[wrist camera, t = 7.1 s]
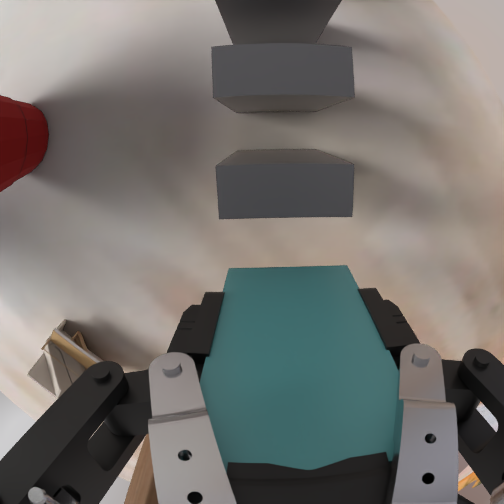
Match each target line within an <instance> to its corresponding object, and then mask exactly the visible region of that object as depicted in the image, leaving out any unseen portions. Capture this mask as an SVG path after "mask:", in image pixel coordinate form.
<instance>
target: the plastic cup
mask: <svg viewBox="0 0 504 504" xmlns="http://www.w3.org/2000/svg"><path fill="white" fill-rule="evenodd" d="M48 136H49V133H48V126H47V121H46V119H45V117H44V115H43V113H42V111H40V110H39V109H37V108H36V107H35V106H32V105H31V104H29V103H24V102H20V101H15V100H12V99H11V98H8V97H5V96H1V95H0V192H1V191H3V190H4V189H6V188H7V187H9V186H11V185H12V184H13V182H15V181H16V180H18V179H20V178H22V177H23V176H25V175H27V174H28V173H30V172H31V171H32V170H33V169H35V168H36V167H37V166H38V164H39V163H40V162H41V161H42V160H43V157H44V154H45V152H46V150H47V145H48Z"/></svg>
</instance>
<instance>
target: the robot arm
mask: <svg viewBox="0 0 504 504" xmlns="http://www.w3.org/2000/svg"><path fill="white" fill-rule="evenodd" d="M357 290H358V292H359V294H360V296H361V298H362V300H363V302H364V304H365V306H366V308H367V310H368V312H369V314H370V316H371V318H372V320H373V322H374V325H375V327H376V329H377V331H378V333H379V335H380V338H381V340H382V342H383V344H384V346H385V349H386V350H389V351H390V353H391V355H392V358H393V360H394V362H395V364H396V367H397V369H398V387H397V402H396V414H395V424H394V433H393V441H394V451H393V459H392V462H389V461H388V457H387V453H386V452H381V453H376V454H370V455H364V456H357V457H350V458H347V459H344V460H341V461H338V462H335V463H332V464H329V465H326V466H323V467H320V468H317V469H313V470H304V469H298V468H292V467H286V466H280V465H275V464H270V463H237V462H228V466H227V474H226V471H225V468H224V465H223V462H222V459H221V455H220V452H219V449H218V446H217V442H216V439H215V436H214V432H213V429H212V426H211V422H210V419H209V415H208V412H207V409H206V406H205V402H204V399H203V395H202V391H201V387H200V379H201V375H202V371H203V367H204V363H205V359H206V357H209V356H210V352H211V348H212V344H213V339H214V335H215V331H216V327H217V323H218V319H219V315H220V310H221V306H222V302H223V298H224V294H225V292H205V294H204V297H203V300H202V303H201V305H191V306H190V307H189V308H188V309H187V310H186V311H184V312H183V315H182V317H181V319H180V323H179V324H178V327H177V330H176V331H175V334H174V336H173V339H172V341H171V343H170V346H169V348H168V351H167V353H166V354H163V355H161V356H159V357H157V358H155V359H154V360H153V361H152V362H151V364H150V366H149V369H148V370H144V371H137V372H130V373H124V371H123V369H122V367H121V366H120V365H119V364H117V363H115V362H112V361H103V362H98V363H96V364H93V365H92V366H90V367H89V368H88V369H86V370H85V371H84V373H83V374H82V375H81V376H80V377H79V378H78V379H77V380H76V381H75V382H74V383H73V384H72V385H71V386H70V387H69V388H68V389H67V390H66V391H65V392H64V393H63V394H62V395H61V396H60V397H59V398H58V399H57V400H56V401H55V402H54V403H53V404H52V406H51V407H50V408H49V409H48V410H47V411H46V412H45V413H44V414H43V415H42V416H41V417H40V418H39V419H38V420H37V421H36V422H35V424H34V425H33V426H32V427H31V428H30V429H29V430H28V431H27V432H26V433H25V434H24V435H23V436H22V437H21V439H20V440H19V441H18V442H17V443H16V444H15V445H14V446H13V447H12V449H11V450H10V451H9V452H8V453H7V454H6V455H5V456H4V457H3V458H2V460H1V461H0V504H99V503H100V501H101V500H102V498H103V497H104V496H105V494H106V493H107V491H108V490H109V488H110V487H111V485H112V484H113V483H114V481H115V480H116V478H117V477H118V475H119V474H120V472H121V471H122V469H123V468H124V467H125V465H126V464H127V462H128V461H129V459H130V458H131V456H132V455H133V453H134V452H135V450H136V449H137V447H138V446H139V445H140V443H141V442H142V440H143V439H144V437H145V436H146V434H149V440H150V449H151V457H152V465H153V472H154V479H155V486H156V492H157V498H158V503H159V504H474V503H472V502H471V501H469V500H468V499H466V498H464V497H463V496H461V495H459V494H458V451H459V452H460V453H461V455H462V456H463V457H464V459H465V460H466V462H467V463H468V464H469V466H470V467H471V468H472V470H473V471H474V473H475V474H476V475H477V477H478V478H479V480H480V481H481V482H482V484H483V485H484V487H485V488H486V489H487V491H488V492H489V494H490V495H491V499H490V501H491V502H490V504H504V365H503V364H502V363H501V362H500V361H499V360H498V359H497V358H496V357H495V356H493V355H492V354H491V353H489V352H488V351H486V350H483V349H471V350H468V351H467V352H466V353H465V354H464V356H463V359H462V361H454V360H443V359H441V356H440V354H439V353H438V352H437V351H436V350H435V349H434V348H432V347H430V346H428V345H425V344H420V342H419V340H418V339H417V337H416V335H415V334H414V332H413V330H412V329H411V327H410V325H409V324H408V323H407V321H406V319H405V317H404V316H403V314H402V312H401V311H400V309H399V308H398V306H396V305H395V304H394V303H392V302H391V301H389V300H383V299H382V297H381V296H380V294H379V292H378V291H377V289H376V288H364V289H357ZM480 401H481V402H482V403H483V404H484V405H485V407H486V408H487V409H488V410H489V411H490V412H491V413H492V414H493V416H494V417H495V418H496V419H497V421H498V431H497V432H495V430H494V429H493V428H492V427H491V426H490V425H489V423H488V422H487V421H486V420H485V419H484V417H483V416H482V415H481V414H480V413H479V412H478V411H477V409H476V408H477V406H478V405H479V403H480ZM103 421H104V422H103ZM102 422H103V423H102ZM101 423H102V425H101ZM100 425H101V426H100ZM99 426H100V427H99ZM98 427H99V428H98ZM97 428H98V430H97ZM96 430H97V431H96ZM95 431H96V432H95ZM94 432H95V433H94ZM93 433H94V435H93ZM92 435H93V436H92ZM91 436H92V437H91ZM90 437H91V438H90ZM89 439H90V440H89Z"/></svg>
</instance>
